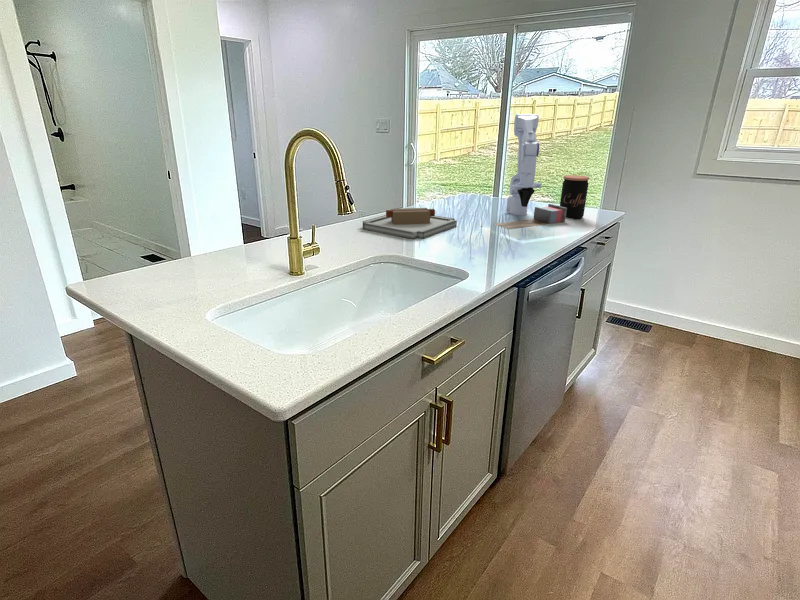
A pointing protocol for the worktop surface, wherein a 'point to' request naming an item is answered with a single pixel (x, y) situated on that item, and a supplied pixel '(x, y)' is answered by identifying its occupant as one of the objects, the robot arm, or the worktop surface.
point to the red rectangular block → (557, 214)
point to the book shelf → (531, 222)
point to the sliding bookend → (542, 215)
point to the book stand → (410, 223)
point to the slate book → (552, 215)
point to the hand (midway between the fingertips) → (524, 206)
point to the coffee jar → (574, 195)
